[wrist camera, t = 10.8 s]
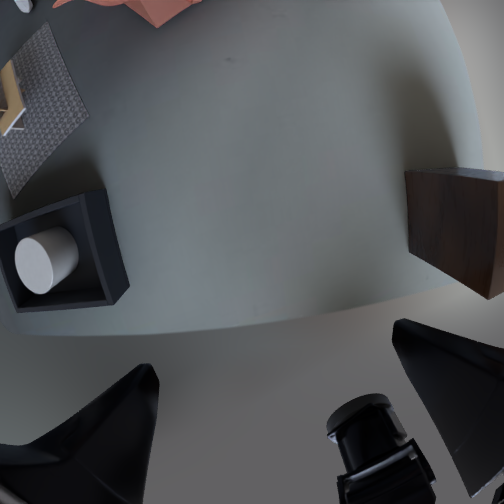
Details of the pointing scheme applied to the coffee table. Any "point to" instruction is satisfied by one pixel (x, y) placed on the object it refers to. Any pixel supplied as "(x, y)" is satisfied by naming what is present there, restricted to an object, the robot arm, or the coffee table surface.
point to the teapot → (147, 8)
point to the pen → (24, 5)
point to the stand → (459, 224)
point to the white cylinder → (46, 258)
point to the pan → (89, 248)
